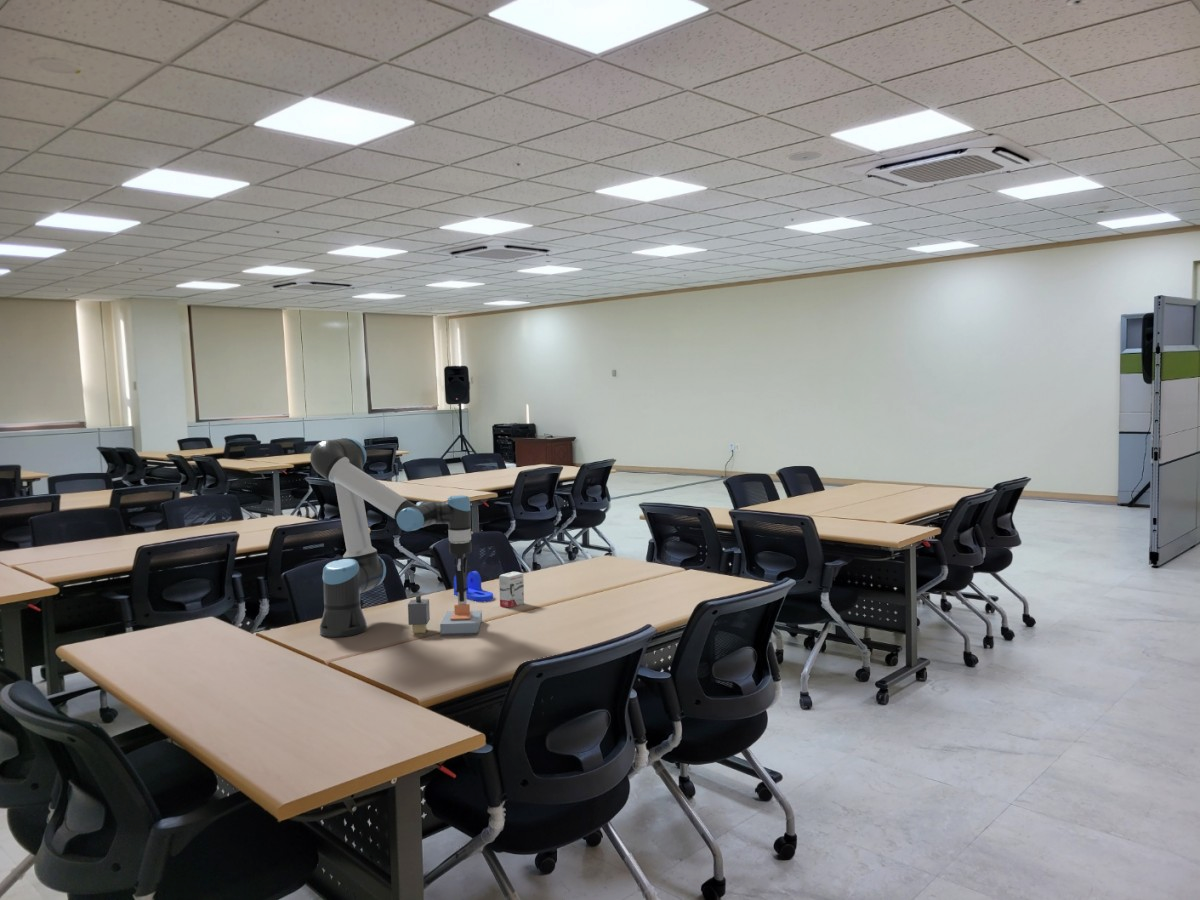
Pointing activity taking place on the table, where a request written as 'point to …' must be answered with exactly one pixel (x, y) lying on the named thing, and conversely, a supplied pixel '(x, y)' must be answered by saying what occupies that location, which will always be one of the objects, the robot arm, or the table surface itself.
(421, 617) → the plug
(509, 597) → the ink box
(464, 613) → the shutter
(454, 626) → the socket
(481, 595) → the bracket
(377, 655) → the table surface
